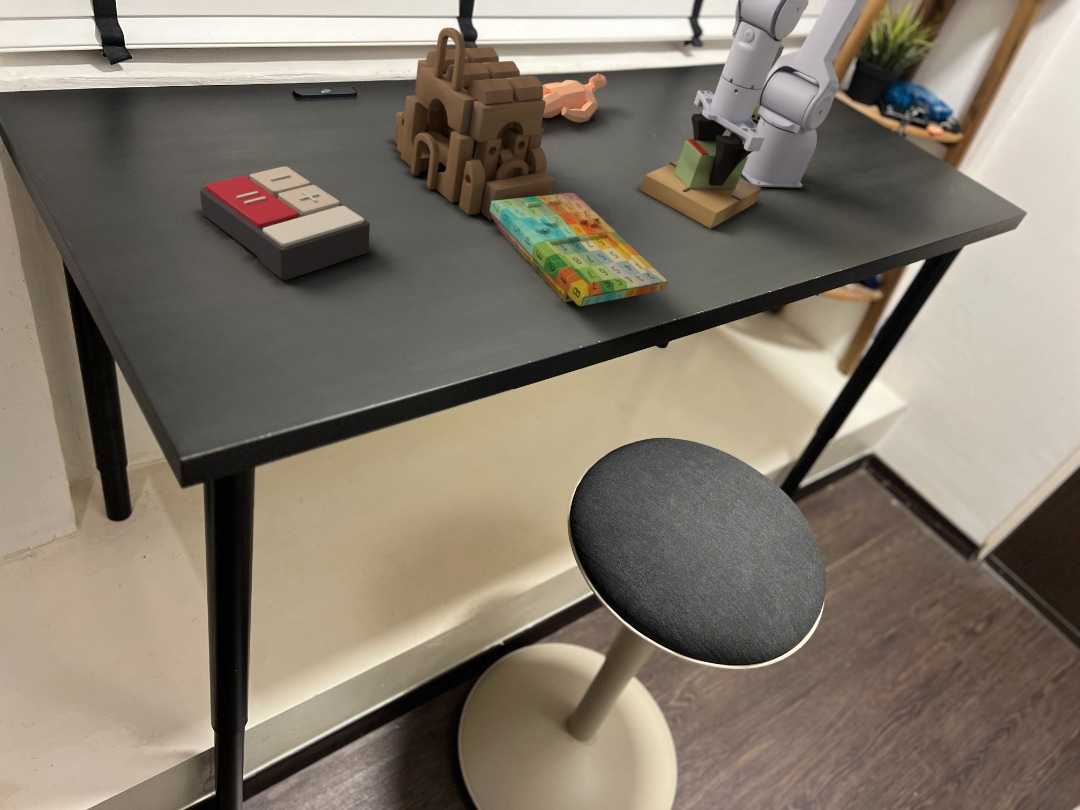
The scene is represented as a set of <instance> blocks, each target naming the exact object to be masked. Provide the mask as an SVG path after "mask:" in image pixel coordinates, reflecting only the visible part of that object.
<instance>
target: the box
mask: <svg viewBox="0 0 1080 810" xmlns="http://www.w3.org/2000/svg"><path fill="white" fill-rule="evenodd" d="M715 154H716V141H695V140H694V138H687V139H686V140H685V141H684V144H683V146H682V149H681V152H680V155H679V158H678V160H679V161H678V160H677V161H678V164H677V167H676V169H675V172H674V173H675V174H676V175H677V176H678V177H679V178H680V179H681V180H682V182H683V183H684V184H685V185H686V186H687V187H688V188H693V189H735V188H736V186H737V183H738V181H739V178H741V176H742V174H741V173H742V171H743V169H744V166H745V164H746V161H747V159H748V156H747V157H745V158H744V159H743V160H742V161H741V162H740V163H739V164H738V165H737V167H736V168H735V169H734V170H733V172H732V173H731V174H730V176H729V177H728V178H727V180H726V181H725V183H724V184H723V185H722V186H712V185H710V184H709V178H710V174H711V170H712V167H713V164H714V160H715Z"/></svg>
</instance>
